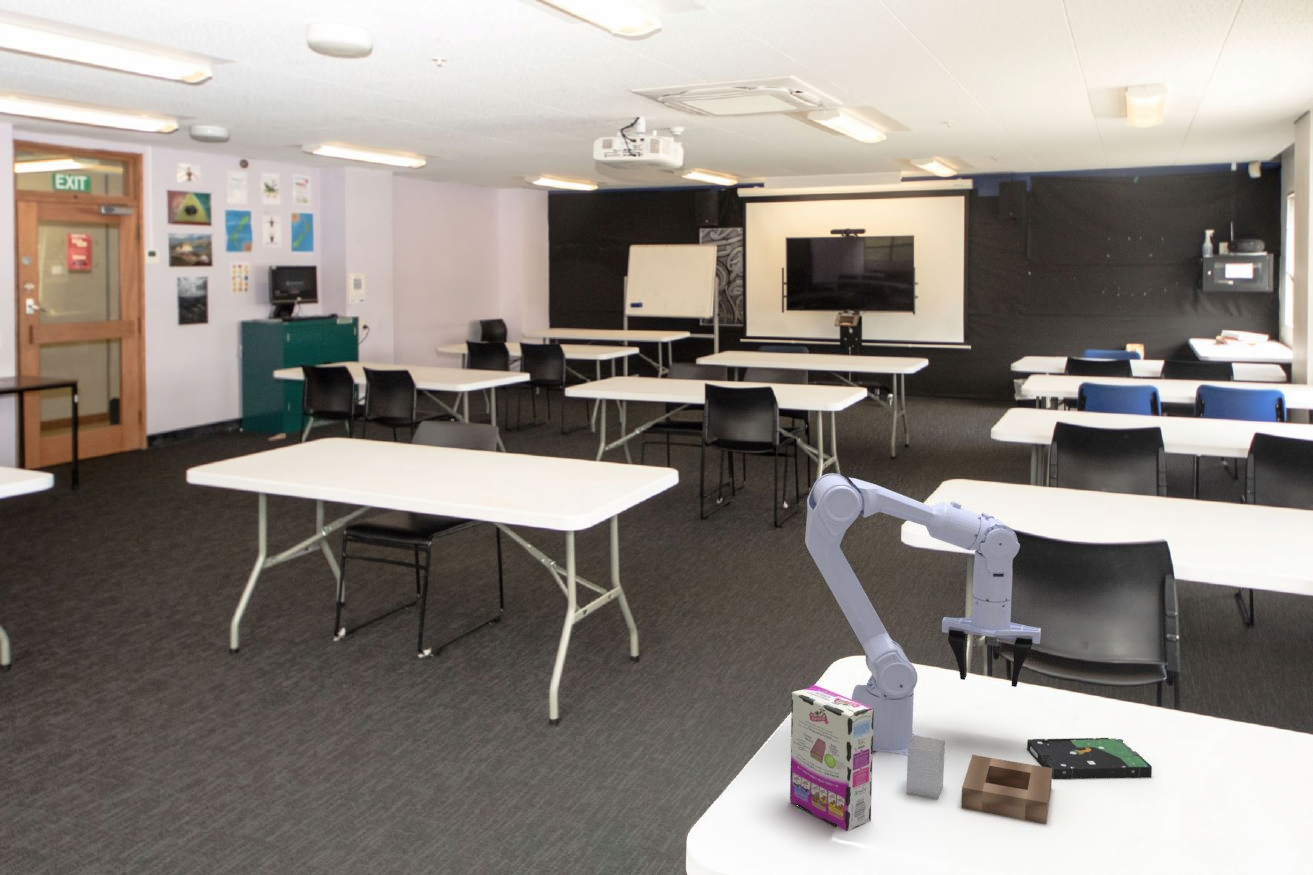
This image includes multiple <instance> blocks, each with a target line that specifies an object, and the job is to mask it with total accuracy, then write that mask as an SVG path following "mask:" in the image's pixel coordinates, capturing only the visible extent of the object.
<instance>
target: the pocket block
mask: <svg viewBox="0 0 1313 875" xmlns="http://www.w3.org/2000/svg"><path fill="white" fill-rule="evenodd" d="M1052 781H1053V779H1052V768H1048V767H1042V766H1041V765H1035V764H1029V763H1024V762H1018V761H1011V760H1007V759H1006V760H1005V759H1000V758H994V757H990V756H983V755H977V754H972V755H971V758H970V761H969V764H968V767H967V770H966V773H965V776H964V779H963V784H962V786H961V806H960V809H964V810H968V811H974V812H978V813H980V812H981V813H985V814H989V815H995V816H1001V817H1006V818H1011V819H1017V820H1022V821H1026V822H1033V823H1036V824H1042V825H1047V822H1048V814H1049V807H1050V800H1051V794H1052V785H1053V784H1052Z"/></svg>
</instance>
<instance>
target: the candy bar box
mask: <svg viewBox="0 0 1313 875" xmlns="http://www.w3.org/2000/svg"><path fill="white" fill-rule="evenodd" d="M790 719H791V720H790V721H791V725H790V732H791V734H790V775H789V776H790V777H789V778H790V782H789V783H790V784H789V786H790V787H789V788H790V789H789V791H790V792H789V802H790V801H791V802H792V803H794V804H795V805H794V804H793V805H794V806H796V805H798V806H799V807H801V808H803V809H804V810H803V809H802V810H803V811H805V810H806V811H805V812H807V811H808V812H807V813H809V814H811V815H813V816H814V815H815V816H814V817H816V816H817V818H818V817H819V819H820V820H823V821H824V822H826V823H827V824H829V825H830V826H831V825H832V826H833V827H835V828H837V826H838V827H839V828H840V829H842V830H845V831H847V832H849V831H851V830H854V829H856V828H858V827H860V826H863V825H865V824H867V823H869V822H872V821H871V820H872V790H873V789H872V784H873V782H872V780H873V755H874V754H873V752H874V751H873V719H874V708H872V707H869V706H867V705H864V704H862V703H859V702H857V701H854V700H852V698H849V697H847V696H844V695H842V694H839V693H836V692H833V691H831V690H828V689H826V688H823V687H821V686H819V685H817V684H814V685H810V686H808V687H804V688H801V689H798V690H795V691H792V692H791V718H790ZM791 802H790V803H791ZM792 803H791V804H792ZM798 806H797V807H798ZM799 807H798V808H799ZM801 808H800V809H801Z"/></svg>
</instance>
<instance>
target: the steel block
mask: <svg viewBox="0 0 1313 875" xmlns="http://www.w3.org/2000/svg"><path fill="white" fill-rule="evenodd" d="M912 736H913V737H912V740H911V742H910V744H909V746H908V756H907V762H906V764H907V766H906V767H907V770H906V795H910V796H916V797H921V798H925V799H926V798H927V799H930V800H931V799H932V800H935V801H936V800H937V801H939V798H940V795H941V793H942V790H943V788H944V773H945V772H944V770H945V769H944V768H945V767H944V766H945V744H946V743H945V741H946V740H944V739H939V738H931V737H926V736H920V735H918V736H915V735H912Z"/></svg>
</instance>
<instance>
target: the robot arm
mask: <svg viewBox="0 0 1313 875" xmlns="http://www.w3.org/2000/svg"><path fill="white" fill-rule="evenodd" d="M848 479H849V480H850V481H851V482H852V483H850V481H849V480H848ZM848 479H847V478H846V477H845V476H843V475H841V474H838V473H833V472H831V473H826V474H823V475H822V476H820V477H819V478H818V479H817V480H816V481H815V483H813V486H812V488H811V490H810V492H809V494H808V497H807V498H806V507H807V512H806V525H805V536H804V538H805V539H804V541H805V542H804V543H805V546H806V548H807V550H808V552H809V553H810V555H811V558H812V559H813V561H814V563H815V564H816V567H817V568H818V570H819V572H820V573H821V575H822V577H823V579H824V580H825V583H826V584H827V586H828V588H829V590H830V591H831V593H832V595H833V596H834V599H835V600H836V602H837V604H838V605H839V607H840V610H841V611H842V612H843V614H844V616H845V618H846V619H847V621H848V623H849V625H850V627H851V628H852V630H853V632H854V633H855V635H856V637H857V639H858V641H859V643H860V645H861V647H862V648H863V650H864V652H865V653H864V654H865V664H866V667H867V669H868V670H869V671H870V673H871V675H870V677H869V679H868V681H867V683H866V684H856V685H855V686H854V688H853V691H852V695H851V699H852V700H854V701H857V702H859V703H862V704H864V705H867V706H869V707H872V708H874V719H873V752H877V751H879V752H885V753H889V754H896V755H902V756H907V757H908V746H909V744H910V742H911V740H912V737H913V735H915V736H919V734H916V733H913V728H914V727H913V726H914V725H913V723H914V721H913V720H914V693H915V688H916V685H917V683H918V672H917V670H916V667H915V666H914V665H913V664H912V662H910V660H909V658H908V657H907V655H906V654H905V651H904V649H903V647H902V646H901V645H900V644H899V643H897V642H896V641H894V640H893V639H892V638H891V636H890V635H889V633H888V631H887V630H886V628H885V626H884V624H883V622H882V620H881V619H880V617H879V615H878V614H877V611H876V610H875V608H874V606H873V604H872V603H871V601H870V599H869V597H868V595H867V594H866V592H865V589H864V588H863V587H862V584H861V583H860V581H859V579H858V577H857V575H856V574H855V572H854V570H853V569H852V567H851V565H850V563H849V561H848V559H847V557H846V556H845V554H844V553H843V551H842V549H841V543H842V541H843V538H844V536H845V534H846V531H847V530H848V529H849V528H850V526H851V525H852V524H853V523H854V521H856V519H857V518H858V517H859V515H861V516H862V518H868V517H869V516H872V515H876V514H877V513H882V514H885V515H889V516H892V517H895V518H898V519H901V520H906V521H908V522H911V523H915V524H917V525H921V526H924V527H925V528H926V529H927V532H928V535H929V536H930V537H931V538H932V539H936V540H939V541H941V542H944V543H947V544H950V545H952V546H955V547H958V548H961V549H964V550H967V551H974V563H973V564H974V565H973V575H972V576H973V579H972V580H973V581H972V605H971V606H972V608H971V617H948V616H944V617H943V619H942V620H941V632H942V633H947V634H948V637H947V641H948V644H949V646H950V647H951V650H952V652H953V654H954V657H955V660H956V663H957V667H958V671H959V679H960V680H962V681H964V680H966V678H967V676H968V672H967V671H968V664H967V662H968V661H967V653H968V652H967V651H968V638H969V635H976V636H982V637H990V638H999V639H1007V640H1015V642H1014V644H1013V666H1012V667H1013V668H1012V676H1011V687H1013V688H1017V687H1018V680H1019V675H1020V672H1021V669H1022V667H1023V665H1024V664H1025V663H1024V662H1025V661H1026V659H1027V657H1028V655H1029V653H1030V652H1031V650H1032V646H1033V644H1035V645H1036V644H1037V645H1040V644H1041V638H1042V637H1041V635H1042V633H1041V632H1042V627H1035V626H1029V625H1024V624H1019V623H1016V622H1011V619H1012V616H1011V615H1012V590H1013V572H1014V571H1013V562H1014V561H1013V560H1014V558H1016V556H1017V554H1018V553H1019V550H1020V548H1021V544H1020V543H1019V540H1018V537H1017V534H1016V532H1015V531H1014V530H1013V529H1012V528H1011V527H1010V526H1008V525H1007V524H1005V523H1004V522H1002V521H1001V520H999V519H997V518H995V517H994V516H992V515H990V514H988V513H984V512H982V513H981V514H979V513H975V512H973V511H970V510H968V509H965V508H962V504H960V503H959V502H957V501H955V500H954V501H953V500H951V501H950V503H948V502H944V501H943V502H942V501H941V502H939V503H937V504H935V505H932V506H931V505H929V504H926V503H923V502H920V500H919V501H918V500H916V499H914V498H911V497H909V496H906V495H904V494H900V493H898V492H897V491H896V492H895V491H894V490H892V489H887V488H886V487H883V486H880V485H878V484H875V483H872V482H870V481H869V482H868V481H865V480H862V479H858V478H855V477H848Z"/></svg>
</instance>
